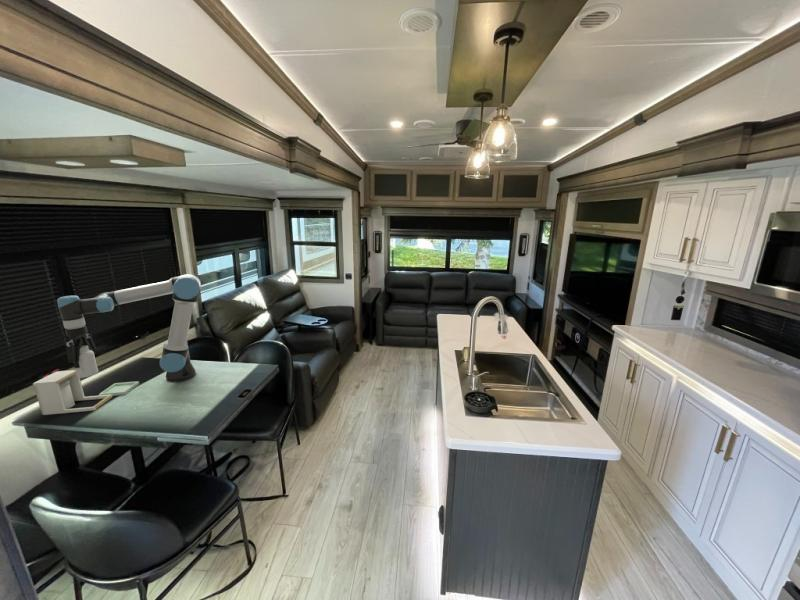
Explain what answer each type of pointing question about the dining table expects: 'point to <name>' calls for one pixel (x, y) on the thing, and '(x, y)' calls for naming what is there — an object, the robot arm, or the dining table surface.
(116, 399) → the dining table surface
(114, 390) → the tray
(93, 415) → the dining table surface
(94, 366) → the pill bottle
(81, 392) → the dispenser
